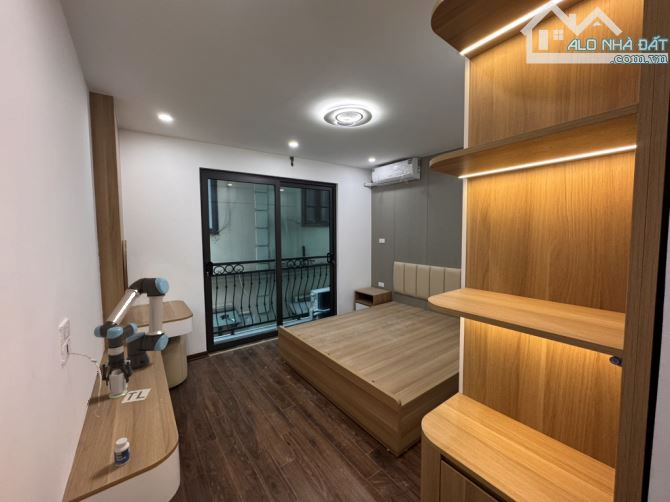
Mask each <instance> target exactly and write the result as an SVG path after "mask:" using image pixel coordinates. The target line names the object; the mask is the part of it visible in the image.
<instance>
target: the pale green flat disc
mask: <svg viewBox="0 0 670 502" xmlns="http://www.w3.org/2000/svg"><path fill="white" fill-rule="evenodd" d="M128 392H129V391H128V389H127V388H126V389H125V390H124V391H123V392H122V393H119V394H112V392H110V393H109V394H108V398H109V399H112V400H113V399H118V398H122V397H123V396H126V395H127V393H128Z"/></svg>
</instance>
